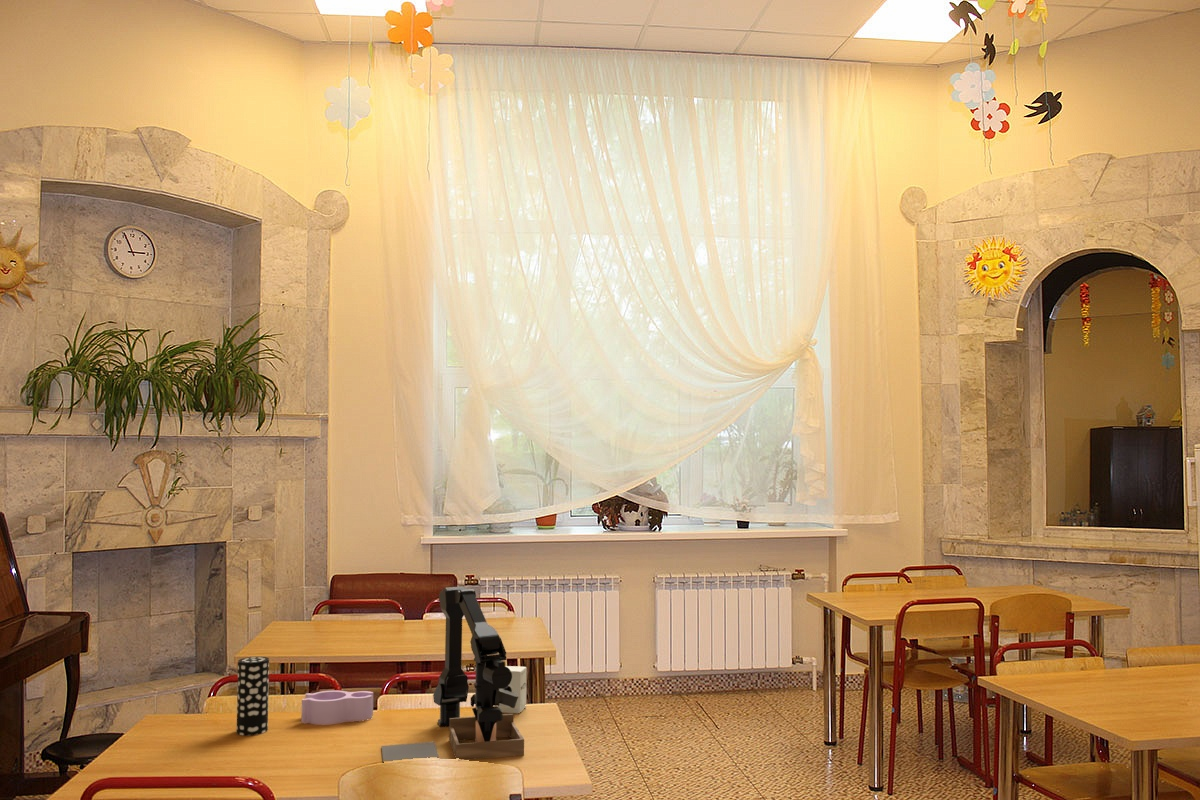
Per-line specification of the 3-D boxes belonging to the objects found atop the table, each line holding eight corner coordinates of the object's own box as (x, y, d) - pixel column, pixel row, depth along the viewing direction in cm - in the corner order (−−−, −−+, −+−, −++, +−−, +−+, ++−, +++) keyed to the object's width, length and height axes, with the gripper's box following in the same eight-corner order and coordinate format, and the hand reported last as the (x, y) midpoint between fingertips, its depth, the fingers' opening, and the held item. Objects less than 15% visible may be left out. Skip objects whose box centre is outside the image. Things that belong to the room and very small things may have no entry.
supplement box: (520, 714, 284) (520, 671, 285) (496, 712, 286) (497, 670, 287) (527, 707, 292) (527, 666, 292) (504, 706, 293) (504, 665, 294)
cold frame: (449, 740, 258) (449, 718, 258) (512, 735, 262) (512, 713, 263) (456, 760, 241) (456, 736, 241) (524, 755, 245) (524, 731, 246)
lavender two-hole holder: (374, 711, 287) (374, 688, 288) (370, 723, 275) (370, 699, 275) (306, 714, 284) (306, 691, 285) (299, 726, 272) (300, 702, 272)
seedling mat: (381, 747, 251) (381, 745, 251) (434, 743, 255) (434, 741, 255) (383, 764, 238) (383, 762, 238) (439, 759, 242) (439, 757, 242)
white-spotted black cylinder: (229, 733, 264) (231, 661, 265) (251, 725, 272) (252, 655, 273) (253, 736, 261) (254, 664, 262) (274, 728, 269) (275, 658, 270)
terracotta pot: (474, 745, 254) (474, 712, 254) (494, 743, 255) (494, 711, 255) (476, 751, 248) (477, 718, 249) (497, 749, 250) (497, 717, 250)
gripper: (521, 687, 246) (521, 747, 245) (510, 671, 264) (510, 727, 263) (479, 689, 243) (478, 751, 242) (470, 673, 261) (470, 730, 260)
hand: (485, 739), depth 252 cm, fingers closed on terracotta pot, 5 cm apart
